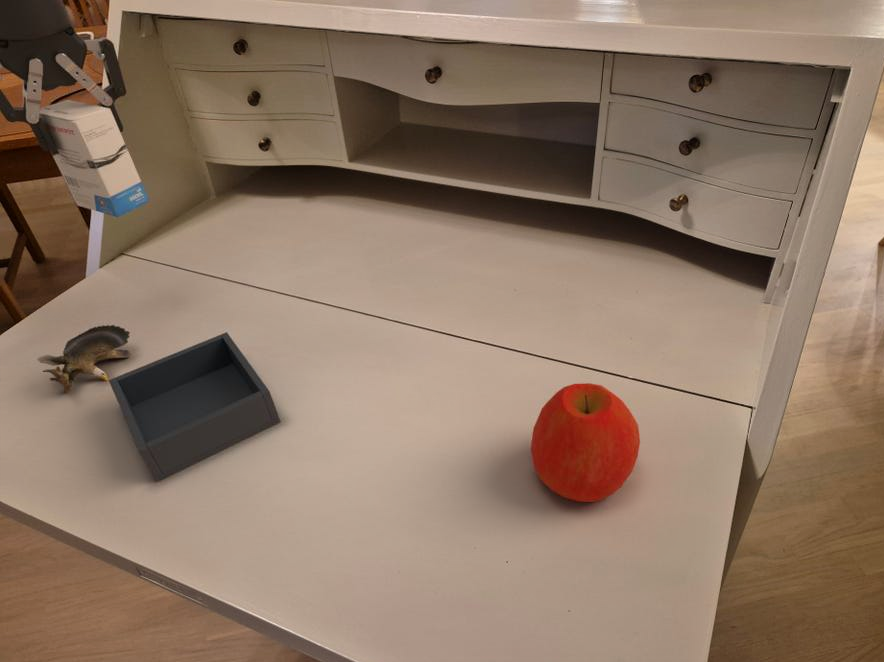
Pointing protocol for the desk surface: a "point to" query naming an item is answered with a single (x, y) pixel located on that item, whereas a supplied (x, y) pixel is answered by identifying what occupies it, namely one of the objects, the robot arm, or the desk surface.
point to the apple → (585, 443)
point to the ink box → (93, 157)
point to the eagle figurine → (87, 354)
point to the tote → (193, 405)
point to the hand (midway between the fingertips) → (85, 144)
